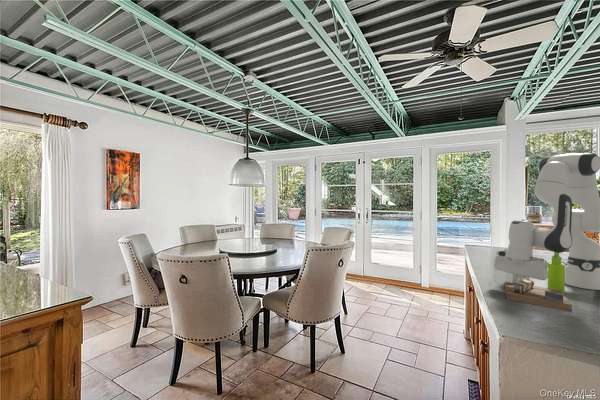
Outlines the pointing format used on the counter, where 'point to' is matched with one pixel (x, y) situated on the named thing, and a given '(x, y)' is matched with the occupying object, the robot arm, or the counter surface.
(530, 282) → the folding leg
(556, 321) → the counter surface
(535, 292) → the wooden tray
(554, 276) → the soap dispenser
